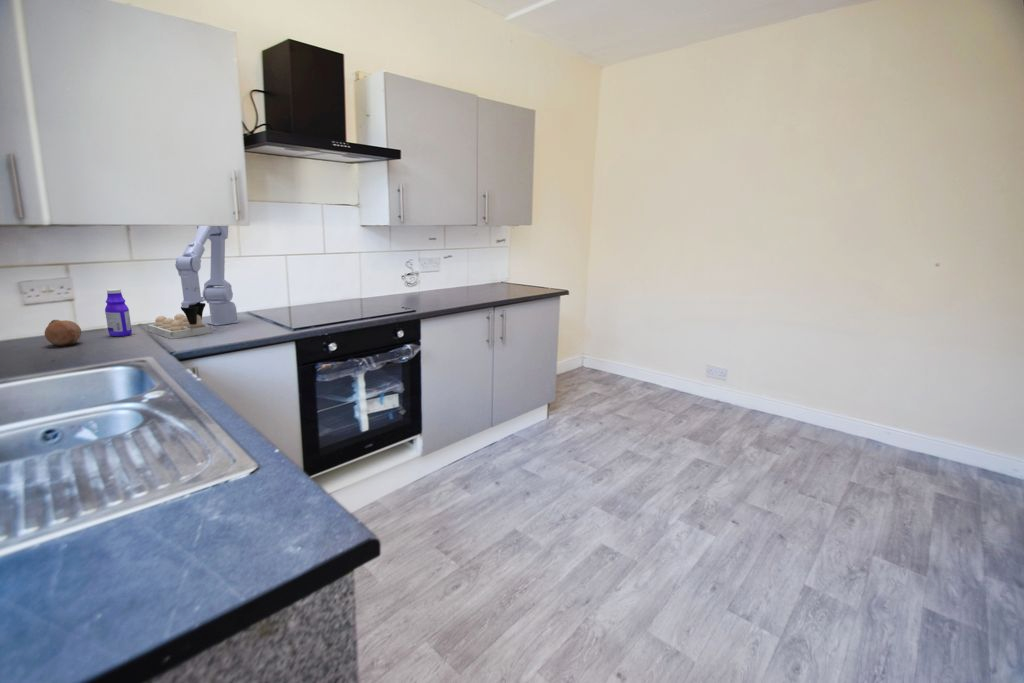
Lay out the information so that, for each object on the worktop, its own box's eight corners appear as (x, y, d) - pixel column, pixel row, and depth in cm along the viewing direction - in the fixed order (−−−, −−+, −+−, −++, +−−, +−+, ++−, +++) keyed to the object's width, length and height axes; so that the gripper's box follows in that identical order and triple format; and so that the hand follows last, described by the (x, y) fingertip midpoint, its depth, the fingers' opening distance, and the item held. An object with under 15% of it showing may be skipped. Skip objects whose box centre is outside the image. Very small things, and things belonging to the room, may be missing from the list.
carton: (187, 325, 208) (185, 311, 206) (211, 332, 196) (209, 317, 195) (148, 331, 197) (145, 316, 195) (171, 339, 185) (169, 323, 184)
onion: (53, 354, 173) (33, 329, 170) (82, 341, 181) (63, 317, 178) (62, 348, 168) (41, 322, 165) (92, 335, 175) (72, 310, 173)
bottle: (136, 334, 192) (129, 288, 188) (123, 337, 186) (115, 290, 182) (118, 333, 192) (111, 288, 188) (105, 336, 187) (97, 290, 183)
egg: (199, 325, 198) (197, 312, 196) (204, 326, 195) (202, 314, 194) (188, 326, 194) (186, 314, 193) (193, 328, 192) (191, 315, 191)
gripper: (194, 290, 185) (199, 326, 188) (210, 285, 199) (214, 319, 202) (173, 290, 184) (178, 327, 187) (190, 285, 198) (195, 319, 201)
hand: (195, 323), depth 194 cm, fingers closed on egg, 4 cm apart
